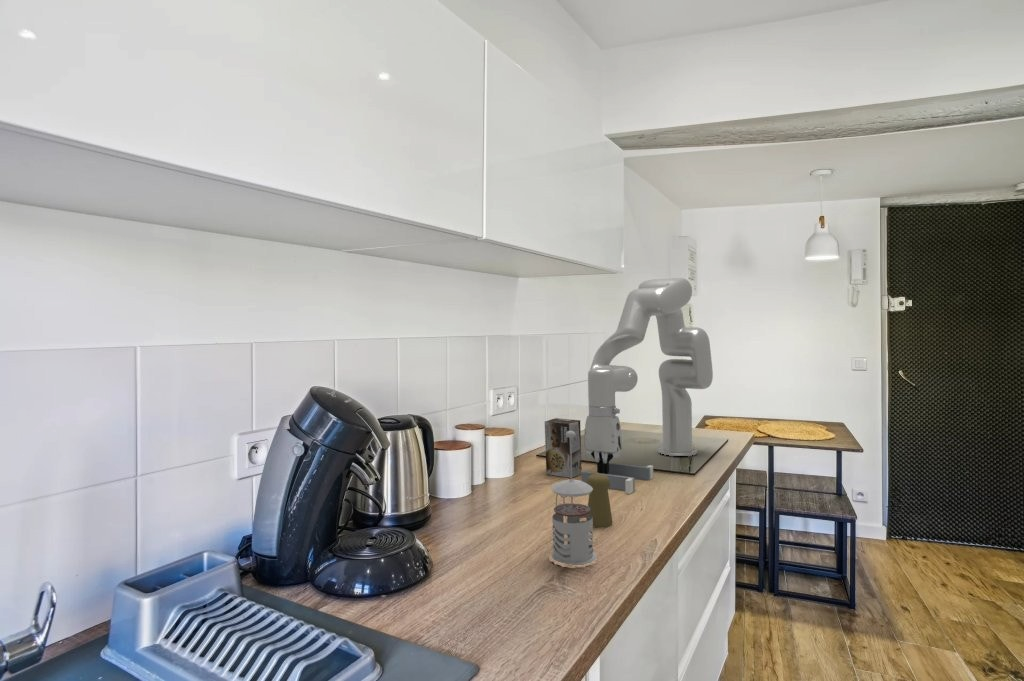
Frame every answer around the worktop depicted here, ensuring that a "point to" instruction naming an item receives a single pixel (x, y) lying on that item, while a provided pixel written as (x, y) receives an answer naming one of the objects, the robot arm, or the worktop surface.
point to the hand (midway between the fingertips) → (603, 475)
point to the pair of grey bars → (624, 476)
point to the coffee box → (562, 447)
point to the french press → (572, 522)
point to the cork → (599, 500)
